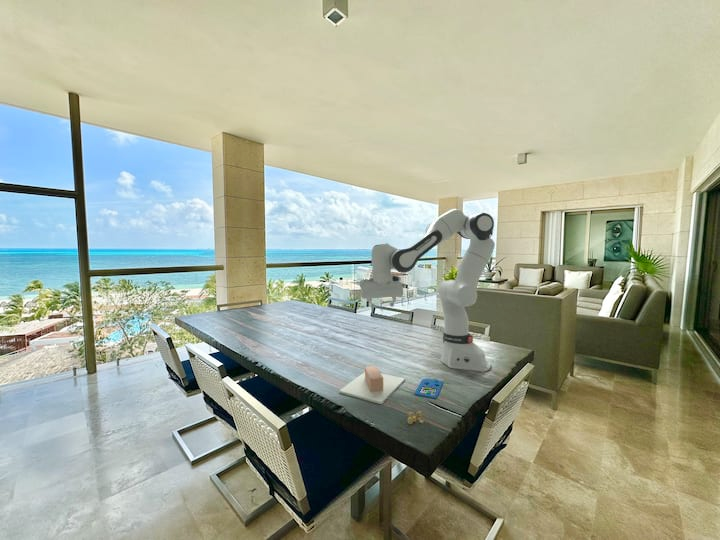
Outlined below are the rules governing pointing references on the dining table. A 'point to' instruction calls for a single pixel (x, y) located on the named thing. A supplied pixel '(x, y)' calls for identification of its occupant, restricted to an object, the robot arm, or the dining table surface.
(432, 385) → the handheld gaming device
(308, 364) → the dining table surface
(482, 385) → the dining table surface
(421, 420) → the popcorn pieces
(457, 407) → the dining table surface
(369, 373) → the terracotta block
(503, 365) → the dining table surface
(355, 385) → the white mat
